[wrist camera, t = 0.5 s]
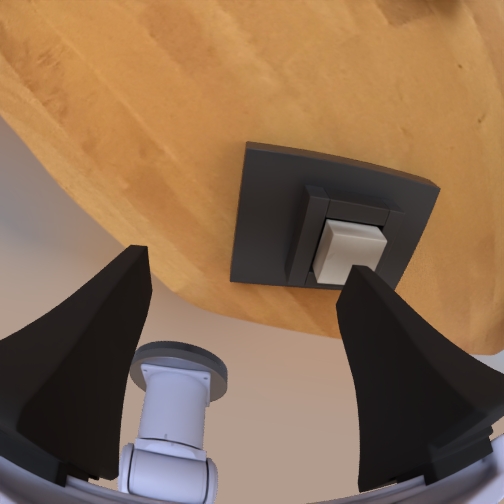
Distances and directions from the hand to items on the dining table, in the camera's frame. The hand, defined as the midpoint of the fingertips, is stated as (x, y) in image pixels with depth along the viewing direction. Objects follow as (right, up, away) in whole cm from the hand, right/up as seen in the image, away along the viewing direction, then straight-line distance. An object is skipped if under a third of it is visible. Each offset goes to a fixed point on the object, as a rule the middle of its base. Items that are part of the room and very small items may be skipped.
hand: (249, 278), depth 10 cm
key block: (+6, +3, +11) cm, 13 cm away
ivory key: (+6, +1, +8) cm, 10 cm away
